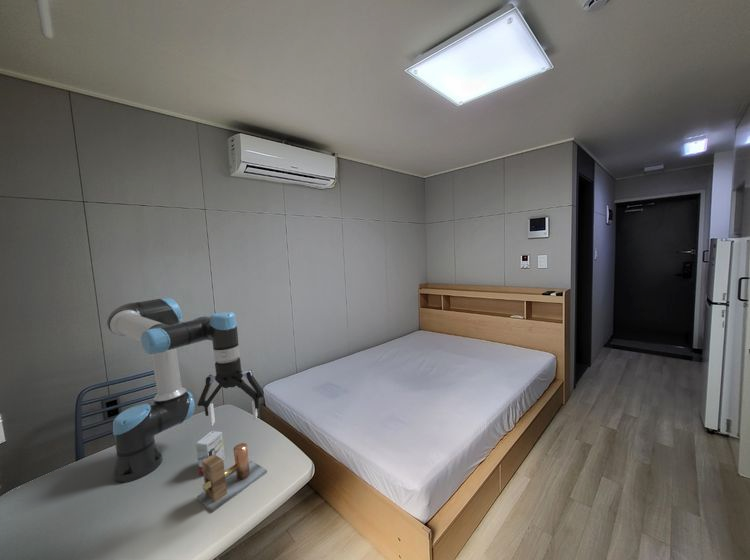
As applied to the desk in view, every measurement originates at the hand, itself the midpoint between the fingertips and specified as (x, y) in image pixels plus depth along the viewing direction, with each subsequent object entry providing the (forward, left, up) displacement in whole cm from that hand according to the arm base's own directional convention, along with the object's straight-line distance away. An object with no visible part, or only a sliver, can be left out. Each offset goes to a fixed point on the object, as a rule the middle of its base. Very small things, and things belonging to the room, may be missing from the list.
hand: (234, 420), depth 101 cm
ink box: (-22, +1, -25) cm, 33 cm away
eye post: (-5, 0, -25) cm, 26 cm away
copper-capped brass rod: (-5, -2, -24) cm, 24 cm away
